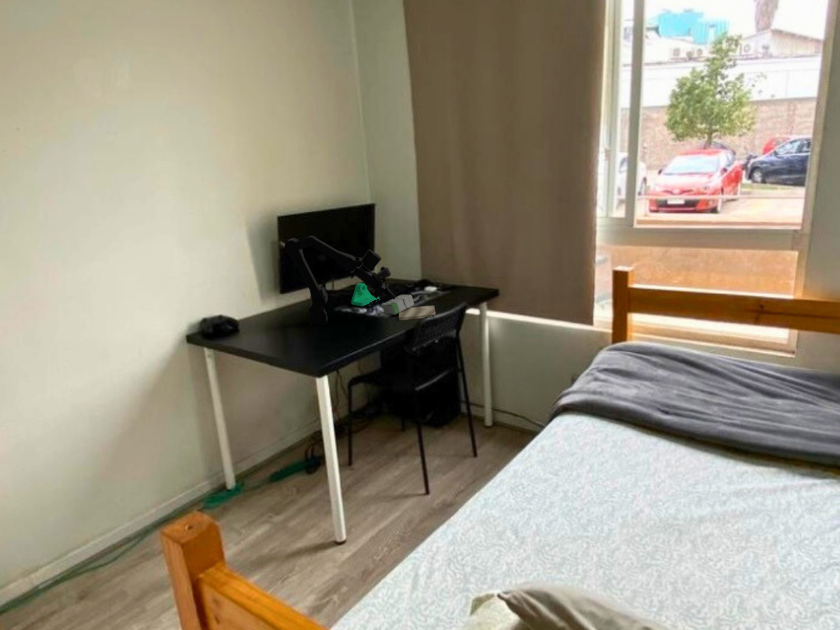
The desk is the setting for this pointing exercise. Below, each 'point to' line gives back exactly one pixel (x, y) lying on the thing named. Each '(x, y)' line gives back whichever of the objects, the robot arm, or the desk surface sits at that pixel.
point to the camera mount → (362, 295)
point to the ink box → (398, 304)
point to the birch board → (417, 312)
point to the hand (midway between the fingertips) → (394, 298)
